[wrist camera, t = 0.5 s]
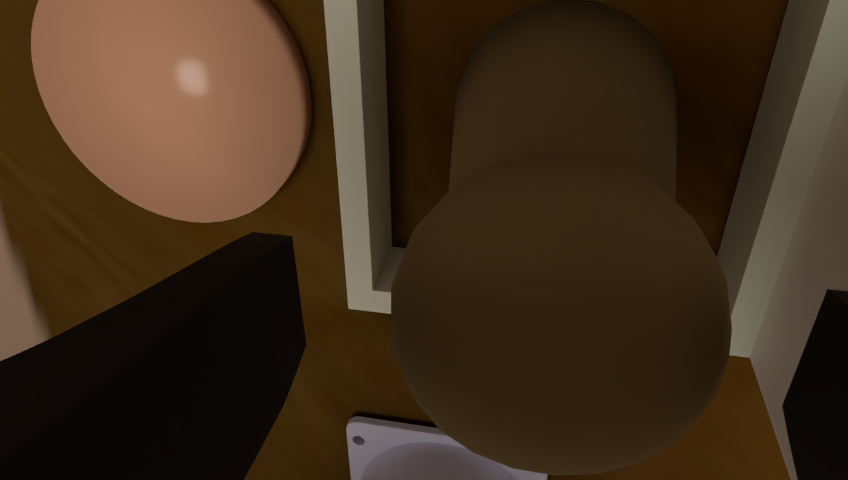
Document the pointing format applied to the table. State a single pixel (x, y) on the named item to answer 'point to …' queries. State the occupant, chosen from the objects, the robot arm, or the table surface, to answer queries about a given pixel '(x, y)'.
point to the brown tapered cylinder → (562, 255)
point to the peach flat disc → (176, 99)
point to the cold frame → (749, 214)
